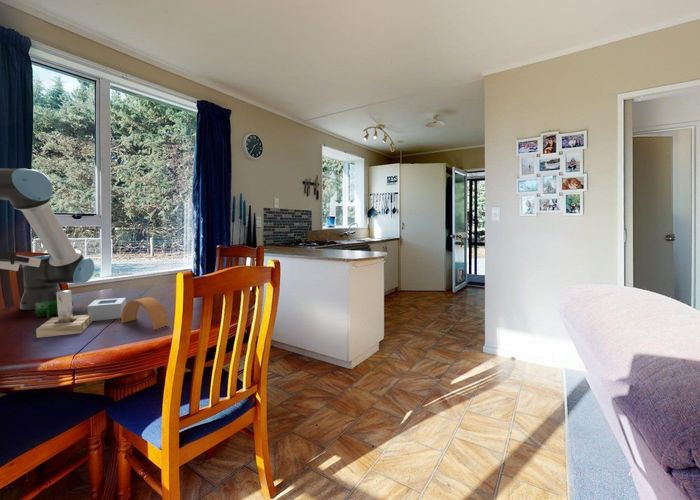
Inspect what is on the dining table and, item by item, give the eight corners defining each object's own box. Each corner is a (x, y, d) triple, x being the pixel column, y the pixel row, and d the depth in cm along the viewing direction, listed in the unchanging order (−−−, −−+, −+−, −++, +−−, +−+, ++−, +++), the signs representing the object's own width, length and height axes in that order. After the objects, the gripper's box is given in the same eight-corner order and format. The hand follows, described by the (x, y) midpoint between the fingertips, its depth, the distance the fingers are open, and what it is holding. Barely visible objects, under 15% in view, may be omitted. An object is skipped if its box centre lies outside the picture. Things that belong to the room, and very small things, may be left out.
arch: (153, 330, 121) (152, 303, 120) (121, 322, 130) (119, 297, 129) (168, 326, 126) (167, 300, 125) (136, 318, 135) (135, 294, 134)
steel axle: (61, 328, 122) (58, 290, 121) (75, 326, 124) (72, 289, 122) (57, 331, 118) (54, 292, 117) (71, 330, 120) (69, 292, 119)
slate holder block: (95, 314, 140) (94, 300, 140) (126, 311, 145) (125, 297, 145) (88, 321, 130) (87, 306, 130) (121, 318, 135) (121, 303, 135)
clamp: (45, 328, 135) (32, 311, 130) (42, 321, 139) (29, 305, 134) (79, 312, 142) (68, 295, 138) (75, 306, 146) (65, 290, 141)
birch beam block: (52, 325, 125) (51, 317, 124) (91, 321, 130) (91, 314, 130) (36, 337, 112) (36, 329, 112) (81, 333, 117) (80, 324, 117)
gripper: (-87, 267, 99) (7, 279, 117) (-51, 258, 89) (46, 272, 108) (-79, 243, 101) (12, 258, 119) (-42, 231, 91) (51, 250, 110)
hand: (28, 265), depth 114 cm, fingers open, 13 cm apart
